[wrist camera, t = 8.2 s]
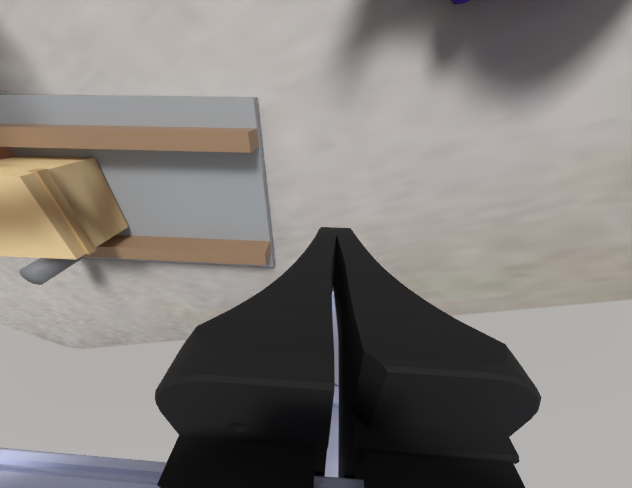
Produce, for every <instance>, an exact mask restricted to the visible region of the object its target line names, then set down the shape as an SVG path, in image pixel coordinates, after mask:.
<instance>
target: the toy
mask: <svg viewBox="0 0 632 488" xmlns="http://www.w3.org/2000/svg"><path fill="white" fill-rule="evenodd" d="M451 1H452V2H453V3H454V4H461V3H465V2H467V1H469V0H451Z"/></svg>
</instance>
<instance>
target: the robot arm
mask: <svg viewBox="0 0 632 488" xmlns="http://www.w3.org/2000/svg"><path fill="white" fill-rule="evenodd" d="M333 289H334V291H332V290H333ZM155 401H156V404H157V406H158V407H159V410H160V411H161V413H162V414H163V415H164V417H166V419H167V420H168V421H169V422H170V424H171V425H172V426H173V428H174V429H175V430H176V431H177V433H178V434H179V437H178V439H177V441H176V444H175V446H174V448H173V450H172V452H171V455H170V457H169V459H168V461H167V463H166V462H155V461H144V460H132V459H120V458H109V457H98V456H87V455H75V454H64V453H53V452H42V451H30V450H18V449H8V448H0V488H525V486H524V484H523V482H522V480H521V478H520V476H519V474H518V472H517V470H516V468H515V466H514V464H516V463H518V462H519V456H518V454H517V452H516V450H515V448H514V446H513V444H512V442H511V440H510V438H509V436H511V435H512V434H513V433H514V432H515V431H517V430H518V429H519V428H520V427H522V426H523V425H524V424H525V423H526V422H528V421H529V420H530V419H531V418H532V417H533V416H534V415H535V414H536V413H537V411H538V409H539V405H540V401H541V396H540V394H539V392H538V390H537V388H536V387H535V385H534V384H533V382H532V381H531V379H530V378H529V377H528V375H527V374H526V372H525V371H524V369H523V368H522V367H521V365H520V364H519V362H518V361H517V359H516V358H515V357H514V355H513V354H512V353H511V351H510V350H509V349H508V347H507V346H506V345H505V344H504V343H502V342H500V341H498V340H496V339H494V338H492V337H490V336H488V335H486V334H484V333H482V332H480V331H478V330H476V329H474V328H472V327H470V326H468V325H466V324H464V323H462V322H460V321H458V320H457V319H455V318H453V317H452V316H450V315H448V314H447V313H445V312H443V311H441V310H440V309H438V308H436V307H435V306H433V305H432V304H430V303H428V302H427V301H425V300H424V299H422V298H421V297H419V296H418V295H417V294H415V293H414V292H412V291H411V290H409V289H408V288H407V287H405V286H404V285H403V284H401V283H400V282H399V281H398V280H397V279H395V278H394V277H393V276H392V275H391V274H389V273H388V272H387V271H386V270H385V269H384V268H383V267H382V266H381V265H380V264H379V263H378V262H377V261H376V260H375V259H374V258H373V257H372V256H371V254H370V253H369V252H368V251H367V250H366V249H365V247H364V246H363V245H362V243H361V242H360V241H359V240H358V238H357V237H356V235H355V234H354V232H353V231H352V230H351V229H350V228H330V227H321V228H320V229H319V231H318V233H317V235H316V236H315V238H314V239H313V241H312V242H311V244H310V245H309V246H308V248H307V249H306V250H305V252H304V253H303V254H302V255H301V256H300V257H299V259H298V260H297V261H296V262H295V263H294V264H293V265H292V266H291V267H290V268H289V269H288V270H287V271H286V272H285V273H284V274H283V275H281V276H280V277H279V278H278V279H277V280H275V281H274V282H273V283H272V284H270V285H269V286H268V287H266V288H265V289H264V290H262V291H261V292H259V293H258V294H256V295H255V296H253V297H251V298H250V299H248V300H246V301H245V302H243V303H241V304H240V305H238V306H236V307H234V308H233V309H231V310H229V311H227V312H225V313H223V314H221V315H219V316H217V317H215V318H213V319H211V320H209V321H207V322H205V323H203V324H201V325H199V326H197V327H196V328H195V330H194V331H193V332H192V334H191V335H190V336H189V338H188V339H187V340H186V342H185V343H184V345H183V346H182V348H181V349H180V351H179V353H178V354H177V356H176V358H175V359H174V361H173V363H172V364H171V366H170V368H169V369H168V371H167V373H166V374H165V376H164V378H163V379H162V381H161V383H160V384H159V386H158V388H157V389H156V392H155ZM513 463H514V464H513Z"/></svg>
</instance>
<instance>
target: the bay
mask: <svg viewBox="0 0 632 488" xmlns="http://www.w3.org/2000/svg"><path fill="white" fill-rule="evenodd" d="M17 156H54V157H93V158H95V159H96V161H97V163H98V165H99V168H100V170H101V172H102V174H103V176H104V178H105V180H106V182H107V184H108V186H109V188H110V190H111V192H112V194H113V196H114V198H115V200H116V202H117V204H118V206H119V208H120V210H121V212H122V214H123V216H124V218H125V220H126V222H127V225H128V227H127V228H126V229H124V230H123V231H121V232H119V233H118V234H116V235H115V236H113V237H112V238H110V239H108V240H107V241H105V242H104V243H102V244H100V245H99V246H97V247H96V249H97V250H96V251H94V252H93V253H91V254H85V255H83V256H82V257H80V258H78V259H77V260H75V259H54V258H40V259H38V260H36V261H35V262H33V263H31V264H29V265H27V266H26V267H24V268H22V269H20V274H21V276H22V277H23V278H24V279H26V280H27V281H29V282H31V283H34V284H38V285H40V284H43V283H45V282H46V281H48V280H49V279H51V278H53V277H54V276H56V275H57V274H59V273H60V272H62V271H63V270H65V269H67V268H68V267H70V266H71V265H73V264H74V263H76V262H77V261H79V260H81V259H82V258H86V259H108V260H129V261H150V262H172V263H193V264H215V265H236V266H257V267H273V266H274V263H275V255H274V246H273V236H272V227H271V218H270V208H269V199H268V190H267V181H266V171H265V162H264V153H263V143H262V134H261V125H260V116H259V106H258V98H254V97H175V96H95V95H16V94H0V159H6V158H11V157H17Z"/></svg>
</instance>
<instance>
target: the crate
mask: <svg viewBox="0 0 632 488" xmlns="http://www.w3.org/2000/svg"><path fill="white" fill-rule="evenodd" d="M127 227H128V225H127V222H126V220H125V218H124V216H123V214H122V212H121V210H120V208H119V206H118V204H117V202H116V200H115V198H114V196H113V194H112V192H111V190H110V188H109V186H108V184H107V182H106V180H105V178H104V176H103V174H102V172H101V170H100V168H99V165H98V163H97V161H96V159H95V158H93V157H54V156H17V157H11V158H6V159H0V256H12V257H33V258H54V259H75V260H77V259H78V258H80V257H82V256H83V255H85V254H91V253H93V252H94V251H96V250H97V249H96V247H97V246H99V245H100V244H102V243H104V242H105V241H107V240H108V239H110V238H112V237H113V236H115V235H116V234H118V233H119V232H121V231H123V230H124V229H126V228H127Z"/></svg>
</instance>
